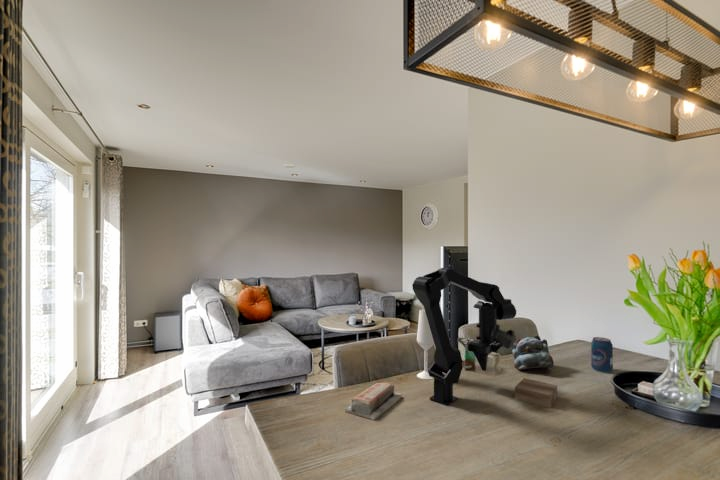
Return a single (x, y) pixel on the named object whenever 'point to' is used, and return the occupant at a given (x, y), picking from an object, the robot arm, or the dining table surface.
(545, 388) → the walnut block
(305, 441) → the dining table surface
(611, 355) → the soda can
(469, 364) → the food container
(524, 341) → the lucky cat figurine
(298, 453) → the dining table surface
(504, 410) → the dining table surface
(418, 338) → the champagne flute
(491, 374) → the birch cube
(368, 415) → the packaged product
